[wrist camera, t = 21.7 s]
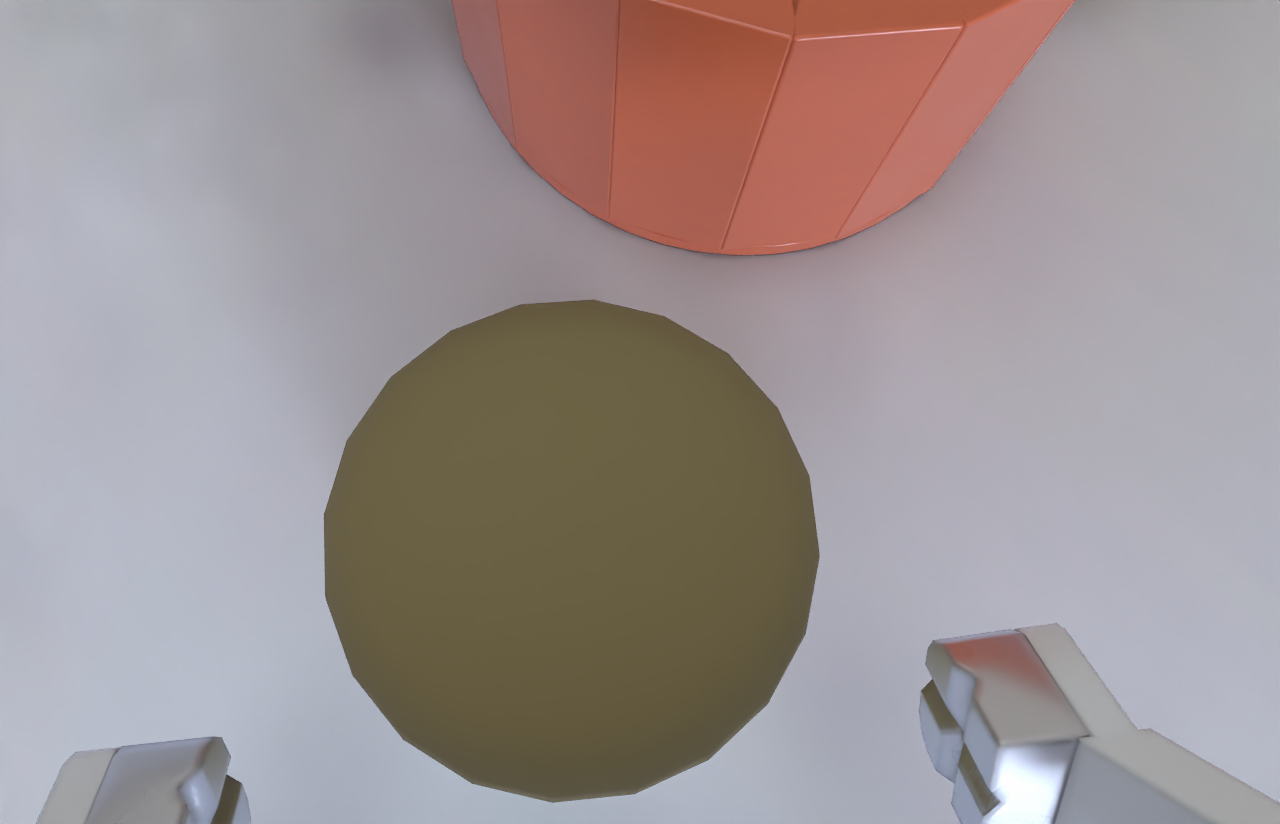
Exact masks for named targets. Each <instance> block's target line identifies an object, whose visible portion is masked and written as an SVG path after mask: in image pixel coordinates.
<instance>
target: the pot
mask: <svg viewBox="0 0 1280 824" xmlns="http://www.w3.org/2000/svg"><path fill="white" fill-rule="evenodd" d="M1075 1H1076V0H452V4H453V9H454V14H455V19H456V24H457V28H458V33H459V38H460V43H461V48H462V52H463V57H464V60H465V62H466V64H467V66H468V68H469V69H470V71H471V73H472V74H473V76H474V78H475V81H476V84H477V87H478V89H479V91H480V93H481V95H482V97H483V99H484V101H485V103H486V105H487V107H488V109H489V111H490V113H491V115H492V117H493V118H494V120H495V121H496V123H497V124H498V126H499V127H500V129H501V130H502V132H503V133H504V135H505V136H506V138H507V139H508V141H509V142H510V143H511V145H512V146H513V147H514V148H515V149H516V151H517V152H518V153H519V154H520V155H521V156H522V157H523V158H524V159H525V161H526V162H527V163H528V164H529V165H530V166H531V167H532V168H533V169H534V171H535V172H537V173H538V174H539V175H540V176H541V177H542V178H544V179H545V180H546V181H547V182H548V183H549V184H551V185H552V186H553V187H554V188H555V189H556V190H558V191H559V192H560V193H561V194H562V195H564V196H565V197H567V198H568V199H570V200H571V201H573V202H574V203H576V204H577V205H579V206H580V207H582V208H583V209H585V210H586V211H588V212H589V213H591V214H592V215H594V216H596V217H598V218H600V219H602V220H604V221H606V222H608V223H610V224H613V225H615V226H617V227H619V228H621V229H623V230H625V231H627V232H629V233H632V234H635V235H638V236H641V237H644V238H647V239H650V240H653V241H655V242H658V243H661V244H665V245H670V246H674V247H679V248H684V249H688V250H693V251H697V252H706V253H717V254H728V255H760V254H777V253H784V252H790V251H796V250H802V249H809V248H813V247H816V246H820V245H823V244H826V243H830V242H833V241H837V240H840V239H843V238H846V237H848V236H851V235H853V234H855V233H857V232H860V231H862V230H864V229H866V228H869V227H871V226H873V225H875V224H877V223H879V222H881V221H882V220H884V219H885V218H887V217H889V216H890V215H892V214H894V213H895V212H897V211H898V210H900V209H902V208H903V207H905V206H906V205H908V204H909V203H910V202H911V201H912V200H914V199H915V198H916V197H917V196H919V195H921V194H923V193H925V192H927V191H928V190H929V189H930V188H932V187H933V186H934V184H935V183H936V182H937V181H938V179H939V178H940V177H941V175H942V174H943V173H944V172H945V170H946V169H947V168H948V166H949V165H950V164H951V163H952V161H953V160H954V159H955V157H956V156H957V155H958V154H959V152H960V151H961V150H962V148H963V147H964V146H965V144H966V143H967V142H968V141H969V139H970V138H971V137H972V135H973V134H974V133H975V132H976V130H977V129H978V128H979V126H980V125H981V124H982V123H983V121H984V120H985V119H986V117H987V116H988V115H989V113H990V112H991V111H992V110H993V108H994V107H995V106H996V104H997V103H998V102H999V100H1000V99H1001V98H1002V96H1003V95H1004V94H1005V93H1006V91H1007V90H1008V89H1009V87H1010V86H1011V85H1012V83H1013V82H1014V81H1015V79H1016V78H1017V77H1018V75H1019V74H1020V73H1021V72H1022V70H1023V69H1024V68H1025V66H1026V65H1027V64H1028V62H1029V61H1030V60H1031V58H1032V57H1033V56H1034V54H1035V53H1036V52H1037V51H1038V49H1039V48H1040V47H1041V45H1042V44H1043V43H1044V41H1045V40H1046V39H1047V37H1048V36H1049V35H1050V33H1051V32H1052V31H1053V30H1054V28H1055V27H1056V26H1057V24H1058V23H1059V22H1060V20H1061V19H1062V18H1063V16H1064V15H1065V14H1066V12H1067V11H1068V10H1069V9H1070V7H1071V6H1072V5H1073V3H1074V2H1075Z"/></svg>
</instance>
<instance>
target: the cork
mask: <svg viewBox="0 0 1280 824" xmlns="http://www.w3.org/2000/svg"><path fill="white" fill-rule="evenodd" d="M324 549H325V596H326V601H327V604H328V606H329V609H330V612H331V615H332V618H333V621H334V624H335V626H336V629H337V632H338V635H339V638H340V641H341V643H342V646H343V649H344V652H345V655H346V658H347V661H348V663H349V666H350V669H351V672H352V675H353V677H354V678H355V679H356V680H357V682H358V683H359V684H360V685H361V687H362V688H363V689H364V690H365V692H366V693H367V694H368V696H369V697H370V698H371V699H372V701H373V702H374V703H375V704H376V706H377V707H378V708H379V709H380V711H381V712H382V713H383V715H384V716H385V717H386V718H387V720H388V721H389V722H390V723H391V725H392V726H393V727H394V728H395V730H396V731H397V732H398V734H399V735H400V736H401V737H402V739H403V740H405V741H406V742H408V743H409V744H411V745H413V746H414V747H416V748H417V749H419V750H420V751H422V752H424V753H425V754H427V755H428V756H430V757H431V758H433V759H435V760H436V761H438V762H439V763H441V764H442V765H444V766H446V767H447V768H449V769H450V770H452V771H453V772H455V773H456V774H458V775H460V776H461V777H463V778H464V779H466V780H467V781H469V782H471V783H472V784H476V785H480V786H485V787H489V788H493V789H497V790H502V791H506V792H510V793H514V794H519V795H523V796H527V797H531V798H536V799H540V800H544V801H548V802H562V801H572V800H581V799H591V798H601V797H610V796H620V795H630V794H636V793H638V792H640V791H642V790H644V789H646V788H649V787H651V786H653V785H655V784H657V783H659V782H662V781H664V780H666V779H668V778H670V777H672V776H675V775H677V774H679V773H681V772H683V771H685V770H687V769H690V768H692V767H694V766H696V765H698V764H700V763H703V762H705V761H707V760H709V759H710V758H711V757H712V756H713V755H714V754H715V753H716V752H717V751H719V750H720V749H721V748H722V747H723V746H724V745H725V744H726V743H727V742H728V741H729V740H730V739H731V738H732V737H733V736H734V735H735V734H736V733H738V732H739V731H740V730H741V729H742V728H743V727H744V726H745V725H746V724H747V723H748V722H749V721H750V720H751V719H752V718H753V717H754V716H755V715H757V714H758V713H759V712H760V711H761V710H762V709H763V708H764V707H765V706H766V705H767V704H768V702H769V701H770V699H771V697H772V695H773V693H774V691H775V689H776V688H777V686H778V684H779V682H780V680H781V678H782V676H783V675H784V673H785V671H786V669H787V667H788V665H789V663H790V662H791V660H792V658H793V656H794V654H795V652H796V650H797V649H798V647H799V645H800V643H801V641H802V639H803V637H804V636H805V634H806V628H807V623H808V617H809V612H810V606H811V601H812V595H813V590H814V584H815V579H816V573H817V568H818V562H819V546H818V539H817V531H816V524H815V516H814V508H813V501H812V493H811V485H810V478H809V474H808V472H807V470H806V468H805V466H804V463H803V461H802V459H801V457H800V455H799V453H798V451H797V448H796V446H795V444H794V442H793V440H792V438H791V436H790V433H789V431H788V429H787V427H786V425H785V423H784V421H783V418H782V416H781V414H780V412H779V410H778V408H777V407H776V406H775V405H774V403H773V402H772V401H771V400H770V399H769V398H768V397H767V396H766V395H765V394H764V393H763V391H762V390H761V389H760V388H759V387H758V386H757V385H756V384H755V383H754V382H753V380H752V379H751V378H750V377H749V376H748V375H747V374H746V373H745V372H744V371H743V370H742V368H741V367H740V366H739V365H738V364H737V363H736V362H735V361H734V360H733V359H732V358H731V356H730V355H729V354H728V353H726V352H724V351H723V350H721V349H719V348H718V347H716V346H714V345H712V344H711V343H709V342H707V341H706V340H704V339H702V338H701V337H699V336H697V335H695V334H694V333H692V332H690V331H689V330H687V329H685V328H683V327H682V326H680V325H678V324H677V323H675V322H673V321H671V320H670V319H668V318H666V317H665V316H660V315H656V314H652V313H648V312H643V311H639V310H635V309H631V308H626V307H622V306H618V305H614V304H609V303H605V302H601V301H597V300H582V301H567V302H552V303H537V304H522V305H518V306H515V307H512V308H510V309H507V310H504V311H502V312H499V313H497V314H494V315H491V316H489V317H486V318H483V319H481V320H478V321H475V322H473V323H470V324H468V325H465V326H462V327H460V328H457V329H454V330H452V331H450V332H449V333H447V334H446V335H445V336H443V337H442V338H441V339H439V340H438V341H437V342H436V343H434V344H433V345H432V346H430V347H429V348H428V349H427V350H425V351H424V352H423V353H421V354H420V355H419V356H418V357H416V358H415V359H414V360H412V361H411V362H410V363H409V364H407V365H406V366H405V367H403V368H402V369H401V370H400V371H398V372H397V373H396V374H394V375H393V376H392V377H391V378H390V379H389V381H388V382H387V384H386V385H385V386H384V388H383V389H382V391H381V392H380V394H379V395H378V397H377V398H376V399H375V401H374V402H373V404H372V405H371V407H370V408H369V409H368V411H367V412H366V414H365V415H364V417H363V418H362V419H361V421H360V422H359V424H358V425H357V427H356V428H355V430H354V431H353V432H352V434H351V435H350V437H349V438H348V440H347V442H346V445H345V448H344V452H343V455H342V458H341V461H340V465H339V468H338V471H337V474H336V478H335V481H334V484H333V487H332V490H331V494H330V497H329V500H328V503H327V507H326V510H325V513H324Z"/></svg>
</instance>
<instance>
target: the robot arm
mask: <svg viewBox="0 0 1280 824" xmlns="http://www.w3.org/2000/svg"><path fill="white" fill-rule="evenodd" d="M925 664H926V666H927V668H928V670H929V672H930V674H931V676H932V678H933V679H932V680H931V681H930V682H929V683H928V684H927V685H926V686H925V687H924V688H923V689H922V690H921V698H920V707H919V714H920V722H921V730H922V735H923V739H924V742H925V745H926V748H927V752H928V754H929V756H930V758H931V761H932V763H933V765H934V767H935V770H936V771H937V772H939V773H940V774H942V775H943V776H944V777H946V778H947V779H949V780H950V781H951V782H953V783H954V784H955V785H954V791H953V796H952V802H951V804H952V806H953V808H954V810H955V813H956V815H957V817H958V819H959V821H960V823H961V824H1280V803H1278V802H1276V801H1275V800H1273V799H1271V798H1270V797H1268V796H1266V795H1264V794H1263V793H1261V792H1259V791H1257V790H1256V789H1254V788H1252V787H1250V786H1249V785H1247V784H1245V783H1244V782H1242V781H1240V780H1238V779H1237V778H1235V777H1233V776H1231V775H1230V774H1228V773H1226V772H1225V771H1223V770H1221V769H1219V768H1218V767H1216V766H1214V765H1212V764H1211V763H1209V762H1207V761H1205V760H1204V759H1202V758H1200V757H1199V756H1197V755H1195V754H1193V753H1192V752H1190V751H1188V750H1186V749H1185V748H1183V747H1181V746H1180V745H1178V744H1176V743H1174V742H1173V741H1171V740H1169V739H1167V738H1166V737H1164V736H1162V735H1160V734H1159V733H1157V732H1155V731H1154V730H1152V729H1142V730H1137V728H1136V727H1135V725H1134V724H1133V723H1132V721H1131V720H1130V718H1129V717H1128V716H1127V714H1126V713H1125V711H1124V710H1123V709H1122V707H1121V706H1120V704H1119V703H1118V702H1117V700H1116V699H1115V697H1114V696H1113V695H1112V693H1111V692H1110V691H1109V689H1108V688H1107V686H1106V685H1105V684H1104V682H1103V681H1102V679H1101V678H1100V677H1099V675H1098V674H1097V672H1096V671H1095V670H1094V668H1093V667H1092V665H1091V664H1090V663H1089V661H1088V660H1087V658H1086V657H1085V656H1084V654H1083V653H1082V652H1081V650H1080V649H1079V647H1078V646H1077V645H1076V643H1075V642H1074V640H1073V639H1072V638H1071V636H1070V635H1069V633H1068V632H1067V631H1066V629H1065V628H1063V627H1061V626H1060V625H1058V624H1057V623H1055V624H1048V625H1041V626H1033V627H1026V628H1019V629H1015V630H1011V629H1009V630H1002V631H995V632H988V633H981V634H974V635H967V636H960V637H953V638H946V639H939V640H933V641H932V643H931V644H930V646H929V648H928V651H927V657H926V663H925ZM230 759H231V756H230V754H229V752H228V750H227V747H226V745H225V743H224V741H223V739H222V737H204V738H195V739H185V740H176V741H167V742H157V743H148V744H139V745H129V746H122V747H116V748H107V749H99V750H90V751H81V752H75V753H74V754H73V755H72V756H71V757H70V758H69V759H68V760H67V761H66V762H65V763H64V764H63V765H62V767H61V769H60V771H59V773H58V776H57V778H56V780H55V782H54V784H53V786H52V789H51V791H50V793H49V795H48V797H47V799H46V802H45V804H44V806H43V808H42V810H41V813H40V815H39V817H38V819H37V821H36V823H35V824H250V823H251V816H250V810H249V804H248V798H247V796H246V793H245V790H244V788H243V785H242V783H240V782H239V781H237V780H235V779H234V778H232V777H230V776H228V775H227V774H226V773H227V770H228V766H229V762H230Z"/></svg>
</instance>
